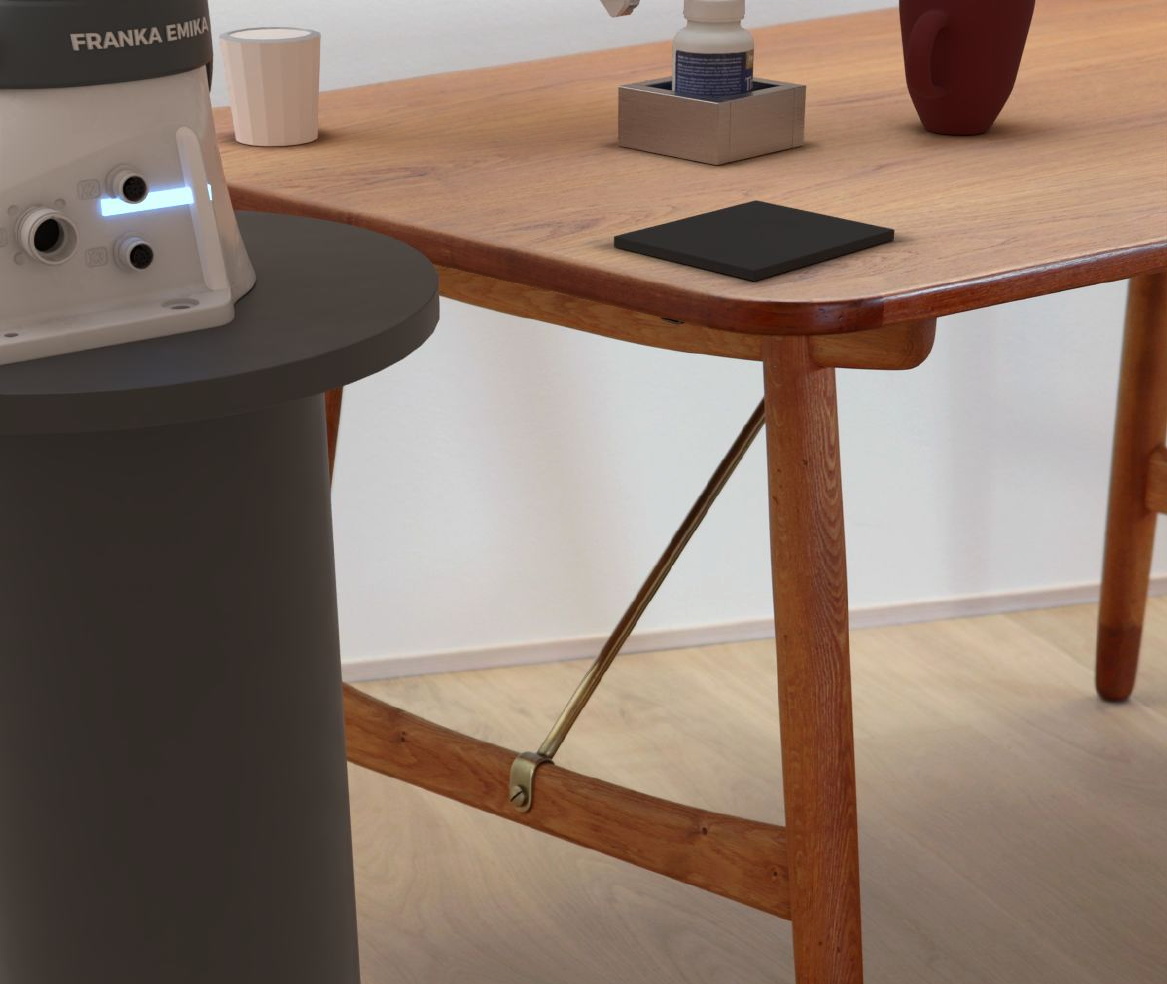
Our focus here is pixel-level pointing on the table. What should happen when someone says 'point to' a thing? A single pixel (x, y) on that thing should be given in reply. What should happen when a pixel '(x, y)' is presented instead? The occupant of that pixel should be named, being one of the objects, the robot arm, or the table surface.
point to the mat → (754, 239)
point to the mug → (962, 59)
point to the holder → (711, 121)
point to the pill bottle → (713, 50)
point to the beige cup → (273, 84)
